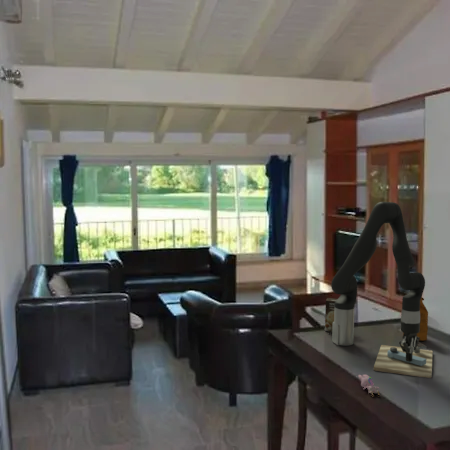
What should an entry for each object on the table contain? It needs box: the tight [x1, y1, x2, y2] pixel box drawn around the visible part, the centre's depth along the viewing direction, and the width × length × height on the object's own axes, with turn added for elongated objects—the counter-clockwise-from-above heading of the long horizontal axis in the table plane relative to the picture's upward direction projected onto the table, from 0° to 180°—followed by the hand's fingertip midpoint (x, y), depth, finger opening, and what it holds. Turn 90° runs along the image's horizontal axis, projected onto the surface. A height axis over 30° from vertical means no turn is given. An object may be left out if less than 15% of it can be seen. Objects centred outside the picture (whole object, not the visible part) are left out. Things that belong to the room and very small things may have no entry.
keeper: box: [414, 341, 427, 353], centre depth 240 cm, size 4×6×4 cm, turn 12°
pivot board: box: [373, 344, 434, 379], centre depth 234 cm, size 30×22×6 cm
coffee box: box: [324, 297, 338, 333], centre depth 279 cm, size 9×6×16 cm
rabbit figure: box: [358, 374, 381, 396], centre depth 205 cm, size 6×6×15 cm
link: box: [387, 350, 426, 366], centre depth 231 cm, size 16×5×2 cm, turn 42°
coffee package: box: [402, 296, 429, 342], centre depth 265 cm, size 10×12×22 cm
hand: (408, 361), depth 226 cm, fingers closed
